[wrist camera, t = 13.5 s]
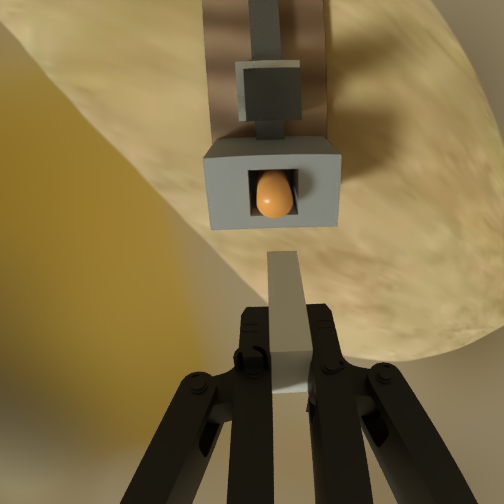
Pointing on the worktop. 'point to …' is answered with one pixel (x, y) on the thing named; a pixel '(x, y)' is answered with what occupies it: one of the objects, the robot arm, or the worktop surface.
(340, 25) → the worktop surface
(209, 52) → the base board
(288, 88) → the carriage
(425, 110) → the worktop surface
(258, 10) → the rail
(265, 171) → the button
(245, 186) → the end cabinet
